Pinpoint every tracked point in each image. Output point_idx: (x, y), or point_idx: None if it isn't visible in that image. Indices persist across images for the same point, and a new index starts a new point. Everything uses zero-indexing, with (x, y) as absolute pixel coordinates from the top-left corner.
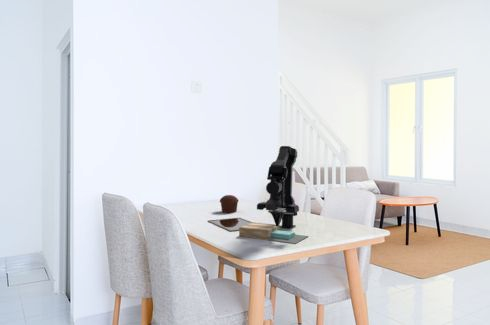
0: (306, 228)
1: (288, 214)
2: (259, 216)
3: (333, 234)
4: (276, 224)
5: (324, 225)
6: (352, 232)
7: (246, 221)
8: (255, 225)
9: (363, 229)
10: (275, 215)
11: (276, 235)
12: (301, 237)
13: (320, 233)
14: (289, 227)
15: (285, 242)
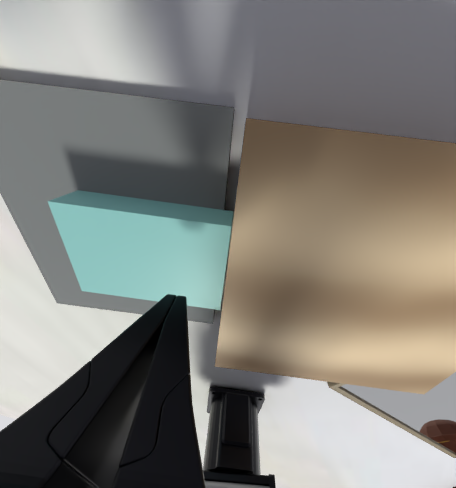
0: None
1: (218, 479)
2: (367, 465)
3: (22, 354)
4: (174, 307)
5: None
6: (4, 382)
7: (425, 430)
8: (417, 325)
9: (15, 407)
10: (119, 473)
11: (181, 211)
12: (59, 266)
13: (70, 356)
14: (215, 391)
15: (46, 86)
